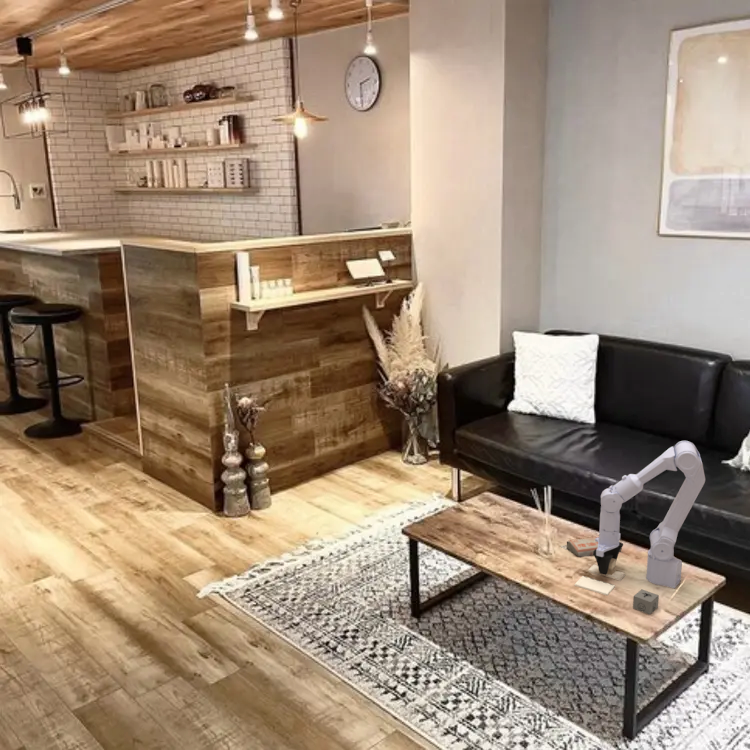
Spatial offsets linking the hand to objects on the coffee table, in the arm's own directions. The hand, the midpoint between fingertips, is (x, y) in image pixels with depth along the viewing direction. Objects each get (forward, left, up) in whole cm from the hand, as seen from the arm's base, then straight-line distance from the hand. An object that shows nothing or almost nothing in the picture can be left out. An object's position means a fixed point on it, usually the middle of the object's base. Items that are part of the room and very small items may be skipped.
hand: (607, 569), depth 236 cm
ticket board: (0, +6, -2) cm, 6 cm away
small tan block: (0, 0, -1) cm, 1 cm away
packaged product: (+10, -12, -3) cm, 16 cm away
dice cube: (-16, +13, -3) cm, 21 cm away
